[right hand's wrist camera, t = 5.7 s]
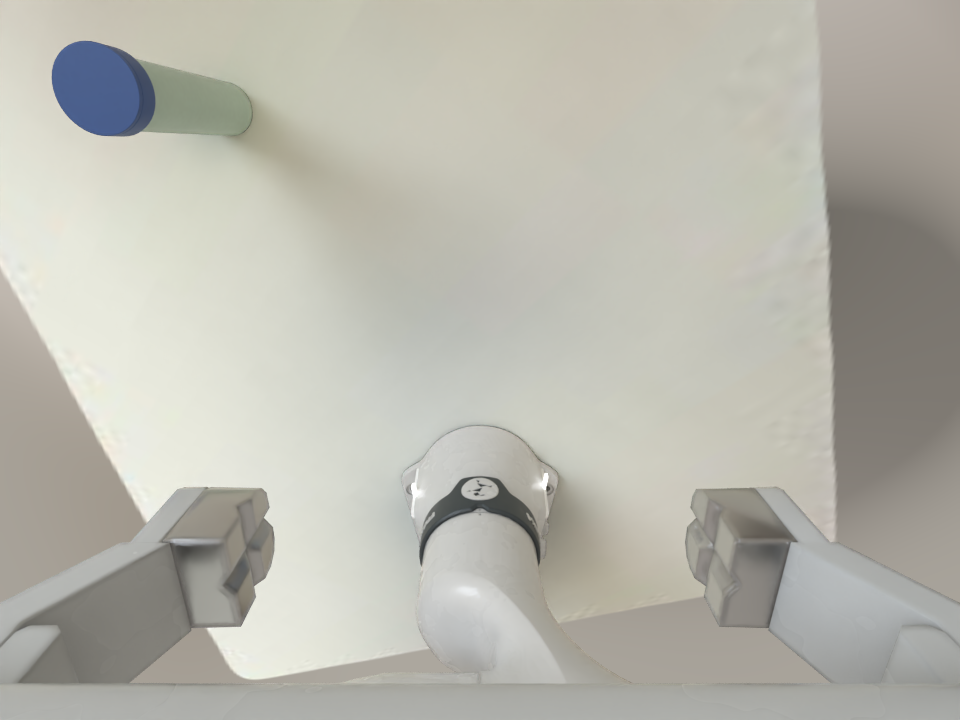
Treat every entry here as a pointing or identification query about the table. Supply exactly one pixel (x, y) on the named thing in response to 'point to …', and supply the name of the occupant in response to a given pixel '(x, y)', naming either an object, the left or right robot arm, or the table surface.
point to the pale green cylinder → (196, 103)
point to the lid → (103, 89)
